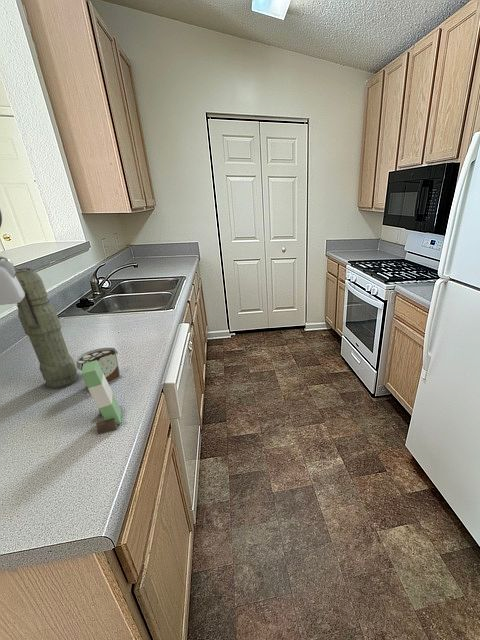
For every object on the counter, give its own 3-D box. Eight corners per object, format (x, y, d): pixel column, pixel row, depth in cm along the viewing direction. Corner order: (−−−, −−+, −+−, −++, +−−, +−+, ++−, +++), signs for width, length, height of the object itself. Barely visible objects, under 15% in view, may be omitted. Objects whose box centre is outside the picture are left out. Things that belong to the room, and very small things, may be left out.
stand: (98, 434, 82) (95, 425, 81) (101, 412, 90) (98, 405, 89) (116, 429, 83) (114, 421, 82) (117, 408, 92) (115, 401, 90)
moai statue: (42, 393, 99) (-8, 275, 84) (50, 376, 109) (7, 267, 93) (76, 386, 102) (34, 272, 87) (81, 370, 112) (44, 265, 97)
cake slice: (111, 371, 111) (103, 344, 107) (124, 375, 109) (116, 347, 104) (75, 389, 101) (65, 359, 97) (88, 393, 99) (78, 363, 94)
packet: (80, 374, 76) (95, 370, 77) (83, 363, 81) (96, 359, 82) (108, 427, 84) (121, 422, 85) (109, 414, 89) (121, 410, 90)
